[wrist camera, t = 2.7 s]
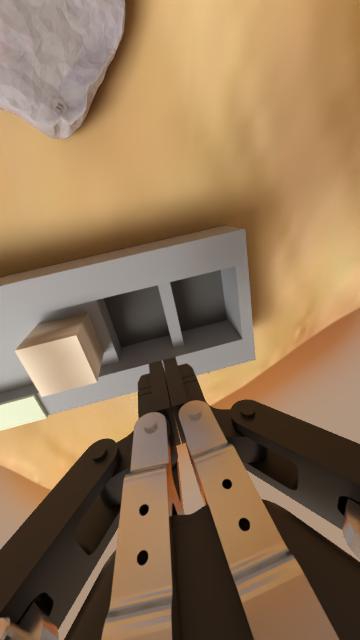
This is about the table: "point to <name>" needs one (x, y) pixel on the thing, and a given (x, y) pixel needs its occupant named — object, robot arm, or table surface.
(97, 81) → the stone block
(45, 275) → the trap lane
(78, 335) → the cube
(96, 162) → the table surface
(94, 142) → the table surface
